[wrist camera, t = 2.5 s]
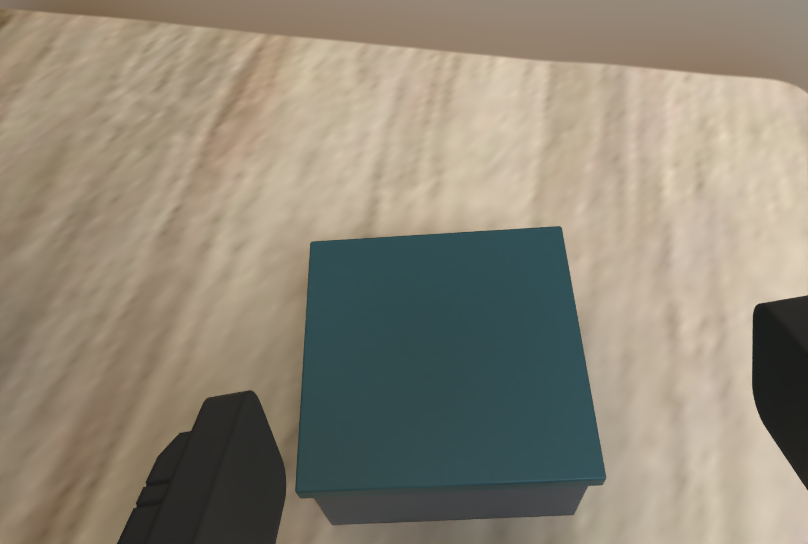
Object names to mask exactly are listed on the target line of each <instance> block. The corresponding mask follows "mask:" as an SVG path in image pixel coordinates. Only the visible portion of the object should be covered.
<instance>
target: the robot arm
mask: <svg viewBox="0 0 808 544" xmlns="http://www.w3.org/2000/svg"><path fill="white" fill-rule="evenodd" d="M752 388H753V395H754V400H755V404H756V407H757V410H758V413H759V416H760V418H761V420H762V422H763V424H764V426H765V427H766V429H767V430H768V432H769V433H770V435H771V436H772V438H773V439H774V441H775V442H776V444H777V445H778V447H779V448H780V450H781V451H782V453H783V454H784V456H785V457H786V459H787V460H788V462H789V463H790V465H791V466H792V468H793V469H794V471H795V472H796V474H797V475H798V477H799V478H800V480H801V481H802V482H803V484H804V485H805V487H806V488H807V490H808V295H807V296H802V297H796V298H790V299H784V300H778V301H773V302H767V303H761V304H758V305H756V307H755V309H754V312H753V353H752ZM285 497H286V474H285V468H284V464H283V460H282V457H281V455H280V452H279V450H278V447H277V444H276V442H275V439H274V437H273V434H272V431H271V429H270V426H269V424H268V421H267V419H266V416H265V413H264V411H263V408H262V406H261V403H260V401H259V398H258V397H257V395H256V394H255V393H254V392H253V391H251V390H249V391H244V392H238V393H232V394H226V395H220V396H215V397H209V398H207V399H206V400H205V401H204V402H203V404H202V407H201V409H200V411H199V414H198V416H197V418H196V421H195V423H194V426H193V428H192V430H191V431H189V432H183V433H179V434H178V435H177V436H176V438H175V439H174V440H173V441H172V442H171V443H170V444H169V445H168V446H167V447H166V448H165V449H164V451H163V452H162V453H161V454H160V455H159V456H158V457H157V459H156V461H155V464H154V466H153V468H152V470H151V472H150V474H149V476H148V479H147V481H146V487H143V489H142V491H141V494H140V496H139V498H138V500H137V502H136V504H137V507H136V508H133V511H132V513H131V515H130V517H129V519H128V521H127V523H126V526H125V528H124V530H123V532H122V534H121V536H120V538H119V541H118V543H117V544H275V543H276V538H277V534H278V529H279V525H280V520H281V516H282V511H283V507H284V502H285Z"/></svg>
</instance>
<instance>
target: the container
mask: <svg viewBox="0 0 808 544" xmlns="http://www.w3.org/2000/svg"><path fill="white" fill-rule="evenodd" d="M605 479H606V474H605V468H604V462H603V457H602V451H601V446H600V440H599V434H598V429H597V423H596V418H595V412H594V406H593V401H592V395H591V389H590V384H589V378H588V373H587V367H586V361H585V356H584V350H583V345H582V339H581V333H580V328H579V322H578V316H577V311H576V305H575V300H574V294H573V288H572V283H571V277H570V272H569V266H568V260H567V255H566V249H565V243H564V238H563V232H562V228H561V227H560V226H557V227H541V228H525V229H509V230H492V231H476V232H460V233H444V234H428V235H412V236H395V237H379V238H363V239H347V240H331V241H315V242H311V243H310V258H309V274H308V291H307V307H306V323H305V340H304V356H303V372H302V389H301V405H300V422H299V438H298V454H297V471H296V487H295V492H296V493H297V495H298V496H299V498H315V500H316V501H317V503H318V504H319V506H320V507H321V509H322V510H323V512H324V513H325V515H326V516H327V518H328V519H329V521H330V523H331V524H332V525H343V524H368V523H392V522H416V521H440V520H464V519H489V518H513V517H537V516H561V515H574V513H575V511H576V509H577V507H578V505H579V503H580V501H581V499H582V497H583V495H584V493H585V491H586V489H587V487H588V486H596V485H603V483H604V481H605Z"/></svg>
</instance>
